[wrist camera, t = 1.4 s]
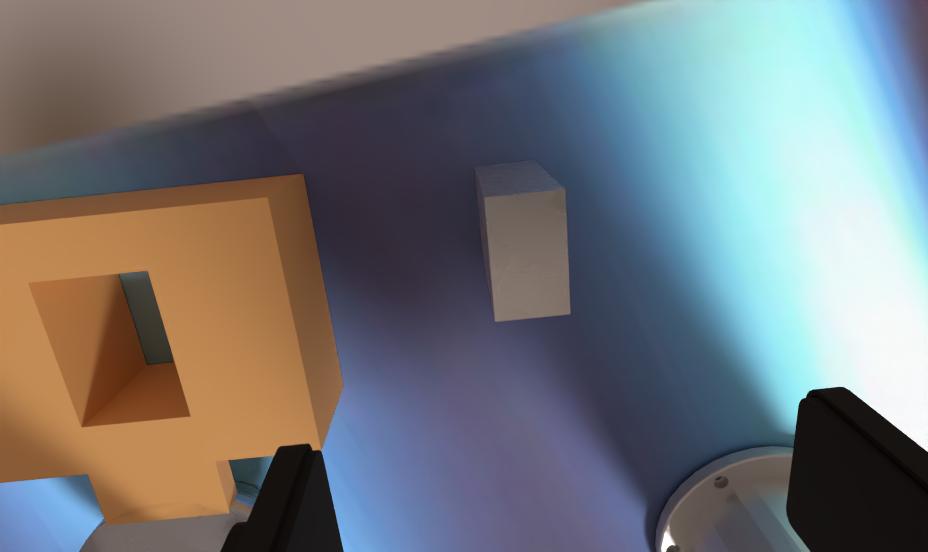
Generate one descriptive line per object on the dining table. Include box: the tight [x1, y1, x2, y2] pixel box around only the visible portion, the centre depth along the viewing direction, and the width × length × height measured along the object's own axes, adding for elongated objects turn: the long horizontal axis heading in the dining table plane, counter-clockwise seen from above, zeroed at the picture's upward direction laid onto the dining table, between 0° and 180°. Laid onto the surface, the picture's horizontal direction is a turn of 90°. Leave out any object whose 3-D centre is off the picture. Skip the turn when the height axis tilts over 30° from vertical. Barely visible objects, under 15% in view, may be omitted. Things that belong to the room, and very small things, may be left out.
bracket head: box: [0, 174, 343, 525], centre depth 28 cm, size 22×15×6 cm
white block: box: [475, 160, 571, 322], centre depth 26 cm, size 3×5×8 cm, turn 5°
